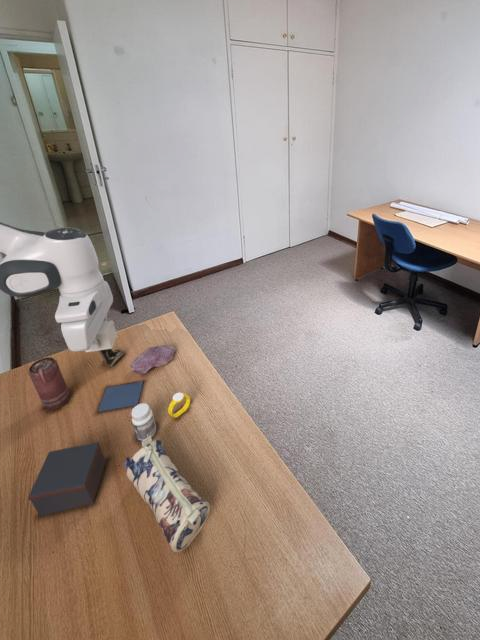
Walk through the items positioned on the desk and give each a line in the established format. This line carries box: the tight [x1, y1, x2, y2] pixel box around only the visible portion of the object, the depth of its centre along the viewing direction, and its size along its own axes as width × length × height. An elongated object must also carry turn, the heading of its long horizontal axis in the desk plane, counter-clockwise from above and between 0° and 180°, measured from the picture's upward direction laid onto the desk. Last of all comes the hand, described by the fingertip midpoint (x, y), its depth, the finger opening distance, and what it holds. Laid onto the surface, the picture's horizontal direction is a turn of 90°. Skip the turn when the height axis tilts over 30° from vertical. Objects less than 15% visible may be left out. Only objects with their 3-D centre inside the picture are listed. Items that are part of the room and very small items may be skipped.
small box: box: [84, 320, 118, 353], centre depth 82 cm, size 6×5×5 cm
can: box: [28, 356, 71, 411], centre depth 89 cm, size 6×6×14 cm
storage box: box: [27, 441, 107, 517], centre depth 71 cm, size 10×9×7 cm
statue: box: [98, 348, 126, 368], centre depth 101 cm, size 4×7×20 cm, turn 167°
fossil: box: [130, 344, 176, 375], centre depth 103 cm, size 8×14×5 cm, turn 141°
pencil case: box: [123, 436, 211, 553], centre depth 67 cm, size 22×8×10 cm, turn 49°
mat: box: [97, 381, 144, 413], centre depth 93 cm, size 10×8×1 cm
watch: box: [167, 392, 191, 419], centre depth 88 cm, size 6×3×6 cm, turn 144°
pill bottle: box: [131, 402, 157, 442], centre depth 82 cm, size 5×5×8 cm
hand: (100, 338), depth 83 cm, fingers closed on small box, 5 cm apart
